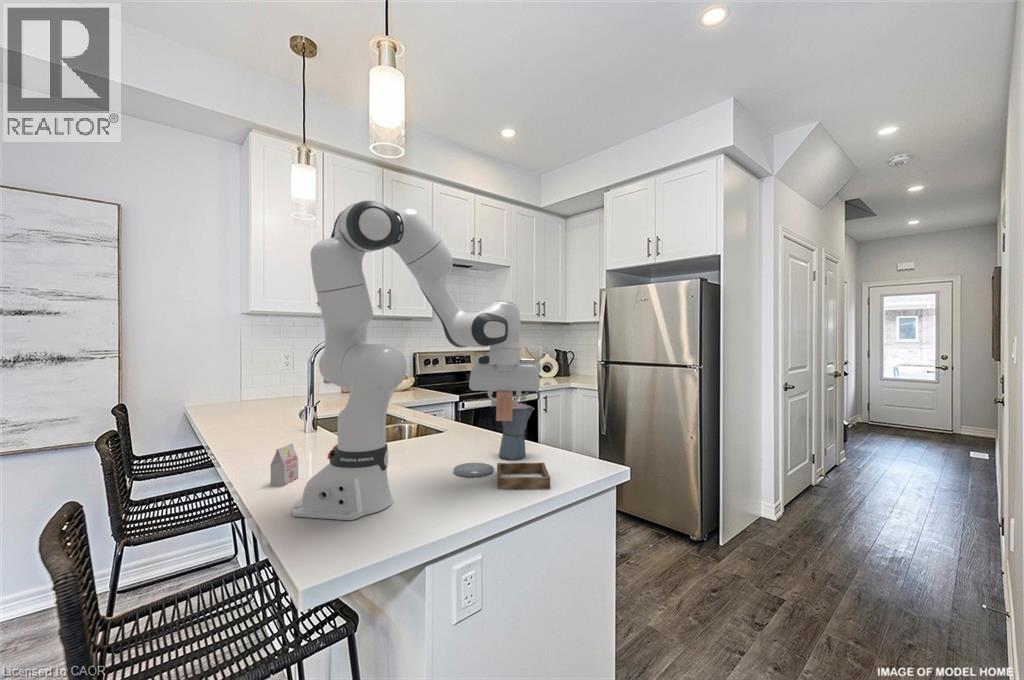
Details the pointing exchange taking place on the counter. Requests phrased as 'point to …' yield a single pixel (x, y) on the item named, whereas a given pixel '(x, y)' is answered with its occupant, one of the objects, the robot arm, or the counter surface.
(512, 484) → the frame
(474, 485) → the counter surface
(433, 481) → the counter surface
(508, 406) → the terracotta clay block
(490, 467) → the slate coaster
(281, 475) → the milk carton
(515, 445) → the moka pot
